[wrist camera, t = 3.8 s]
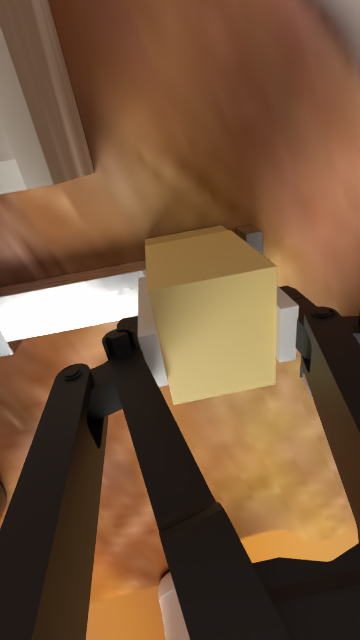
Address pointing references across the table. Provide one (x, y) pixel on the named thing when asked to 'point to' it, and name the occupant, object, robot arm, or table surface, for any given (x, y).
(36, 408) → the table surface
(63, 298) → the rail
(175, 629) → the vodka
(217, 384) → the carriage
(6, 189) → the grey open box
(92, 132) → the table surface
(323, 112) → the table surface
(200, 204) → the table surface
